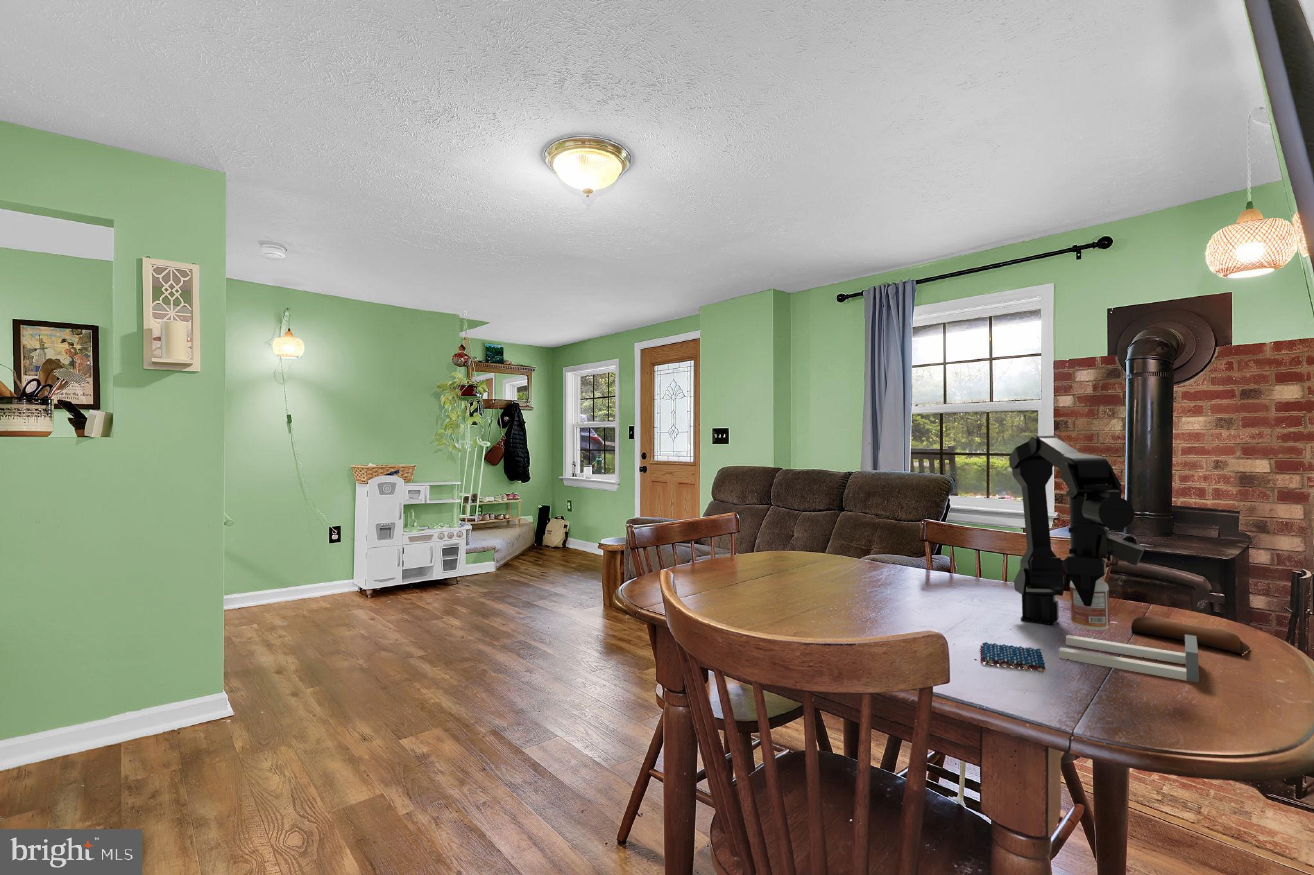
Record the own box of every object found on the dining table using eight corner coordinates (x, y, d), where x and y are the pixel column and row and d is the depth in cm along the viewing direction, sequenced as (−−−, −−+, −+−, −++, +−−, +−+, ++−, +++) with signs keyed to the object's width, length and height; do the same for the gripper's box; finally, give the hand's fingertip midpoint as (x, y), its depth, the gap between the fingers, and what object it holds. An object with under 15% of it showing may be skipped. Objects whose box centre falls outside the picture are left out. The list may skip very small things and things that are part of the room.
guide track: (1059, 658, 117) (1058, 631, 117) (1067, 642, 126) (1066, 617, 126) (1199, 682, 104) (1198, 653, 104) (1197, 663, 113) (1196, 636, 113)
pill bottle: (1082, 619, 123) (1081, 564, 123) (1117, 627, 117) (1115, 569, 117) (1063, 624, 120) (1062, 567, 120) (1098, 632, 114) (1096, 573, 114)
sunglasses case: (1258, 647, 120) (1250, 621, 118) (1247, 672, 117) (1240, 646, 115) (1147, 625, 135) (1139, 602, 134) (1135, 647, 132) (1127, 623, 130)
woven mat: (979, 650, 124) (979, 640, 124) (1041, 658, 119) (1041, 647, 119) (979, 667, 114) (979, 656, 114) (1046, 676, 109) (1046, 665, 109)
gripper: (1138, 531, 106) (1140, 621, 106) (1142, 519, 120) (1144, 598, 120) (1061, 526, 113) (1064, 610, 113) (1074, 515, 128) (1076, 590, 128)
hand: (1089, 602), depth 118 cm, fingers closed on pill bottle, 6 cm apart
